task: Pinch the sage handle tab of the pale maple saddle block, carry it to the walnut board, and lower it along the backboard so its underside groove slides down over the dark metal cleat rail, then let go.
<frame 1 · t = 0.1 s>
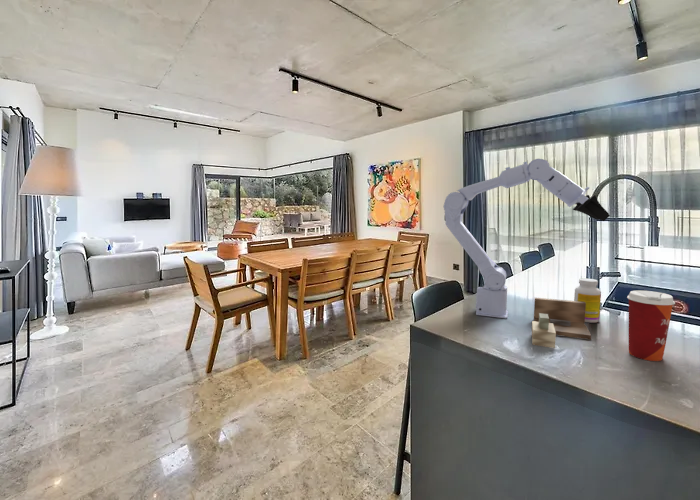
hand: (603, 217, 93), 32 cm above the worktop, tool tilted 50°, fingers open, 7 cm apart
supplement bottle: (585, 320, 102), on the worktop
saddle block: (542, 341, 87), on the worktop
cleat board: (559, 328, 95), on the worktop
coffee cup: (645, 356, 77), on the worktop
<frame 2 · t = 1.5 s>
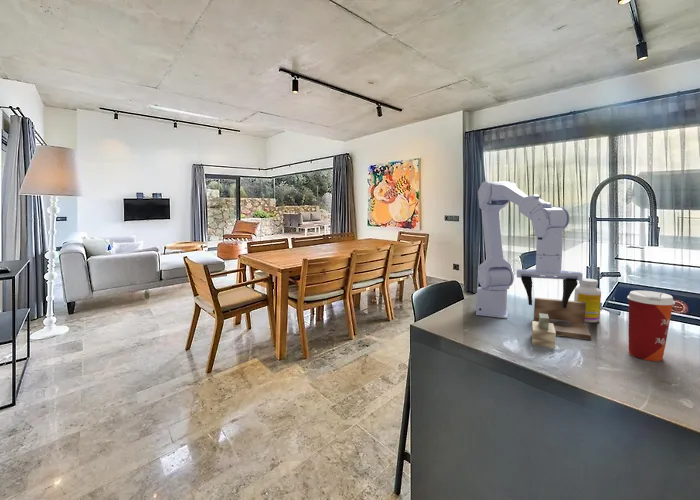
hand: (546, 305, 85), 10 cm above the worktop, tool pointing down, fingers open, 7 cm apart
nothing on the worktop moved.
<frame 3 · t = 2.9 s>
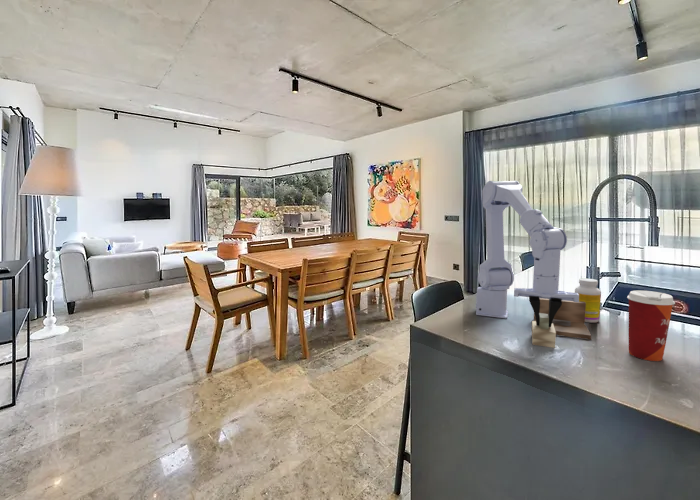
hand: (543, 325, 86), 4 cm above the worktop, tool pointing down, fingers closed on saddle block
saddle block: (542, 340, 87), on the worktop, touching gripper
everything else where it was.
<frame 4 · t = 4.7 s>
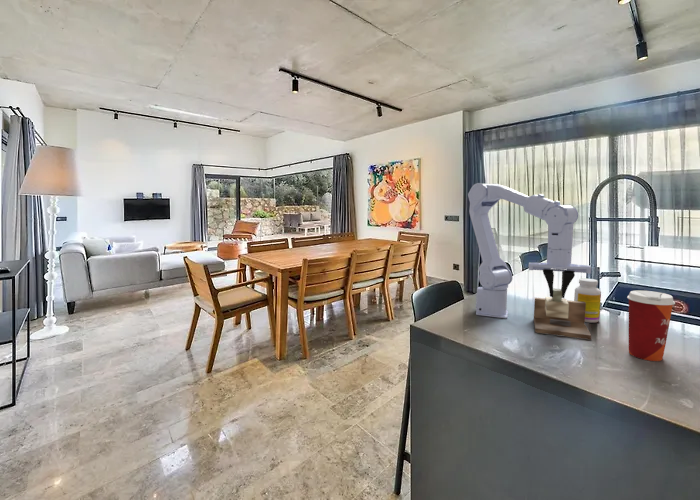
hand: (556, 296, 91), 10 cm above the worktop, tool pointing down, fingers closed on saddle block
saddle block: (555, 314, 92), point 5 cm above the worktop, touching gripper
everything else where it was.
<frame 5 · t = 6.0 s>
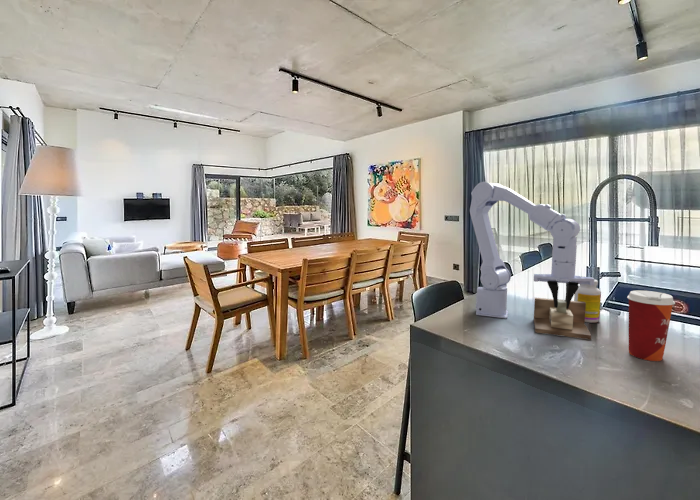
hand: (561, 307, 94), 6 cm above the worktop, tool pointing down, fingers closed on saddle block
saddle block: (560, 324, 95), point 1 cm above the worktop, touching cleat board, gripper
everything else where it was.
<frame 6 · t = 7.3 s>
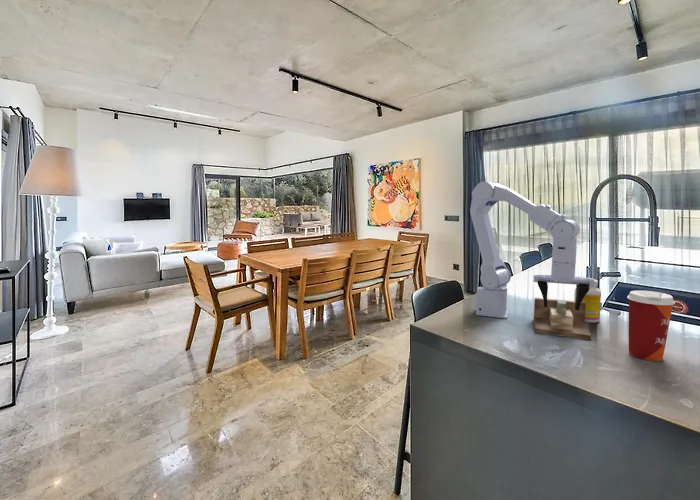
hand: (560, 307, 94), 6 cm above the worktop, tool pointing down, fingers open, 7 cm apart
saddle block: (560, 324, 95), point 1 cm above the worktop, touching cleat board
everything else where it was.
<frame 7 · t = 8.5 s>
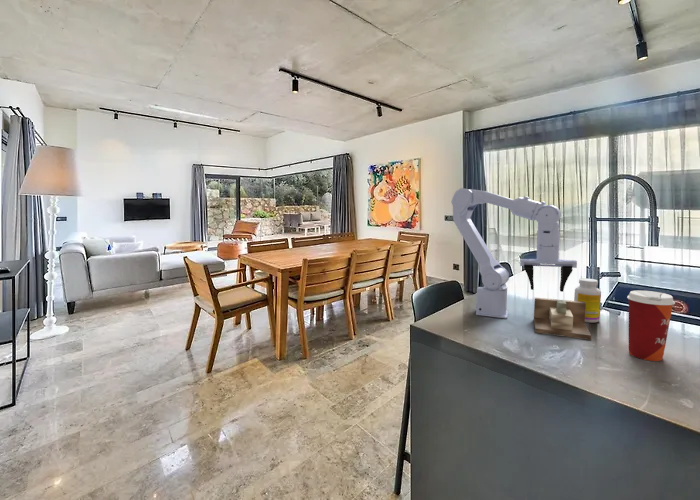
hand: (546, 289, 99), 10 cm above the worktop, tool pointing down, fingers open, 7 cm apart
nothing on the worktop moved.
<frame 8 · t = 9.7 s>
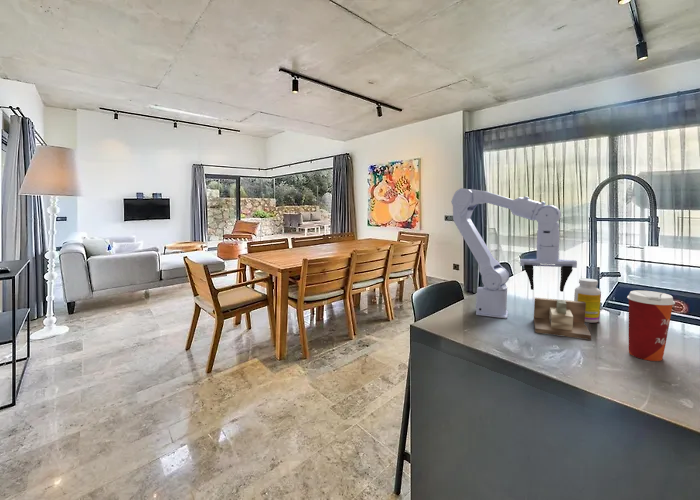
hand: (546, 289, 99), 10 cm above the worktop, tool pointing down, fingers open, 7 cm apart
nothing on the worktop moved.
at the end: saddle block 0.4 cm off-centre on the cleat board, point 1.2 cm above the cleat board's base; saddle block tilted 0°; the gripper is holding nothing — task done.
